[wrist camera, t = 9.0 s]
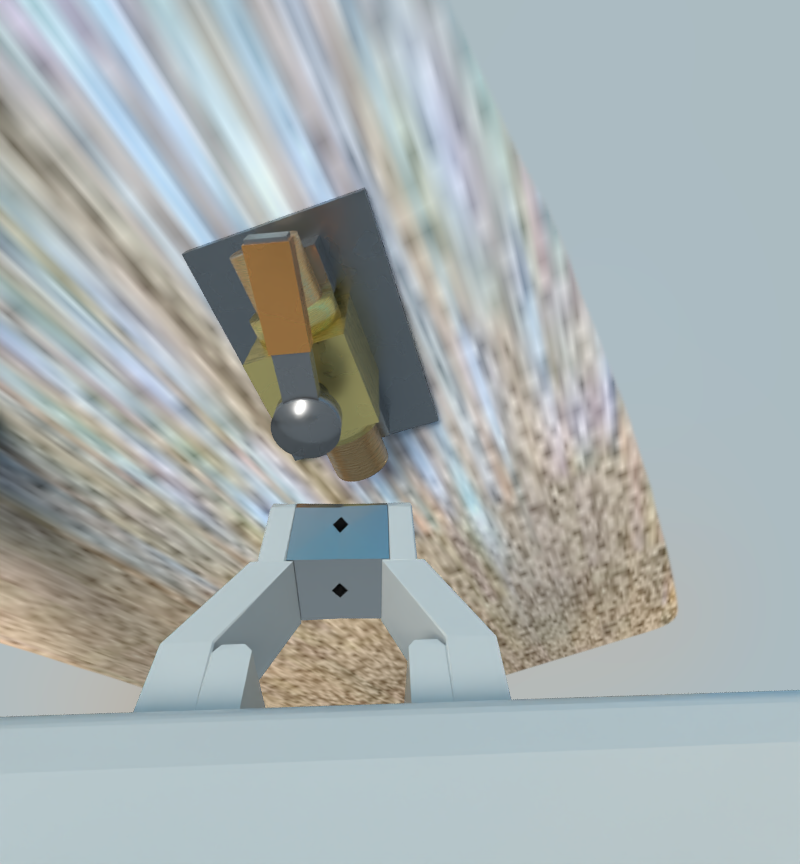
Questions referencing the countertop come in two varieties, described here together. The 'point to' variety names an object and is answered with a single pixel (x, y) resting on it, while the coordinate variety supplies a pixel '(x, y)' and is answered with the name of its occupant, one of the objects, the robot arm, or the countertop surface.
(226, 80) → the countertop surface
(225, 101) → the countertop surface
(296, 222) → the valve
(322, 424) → the lever
